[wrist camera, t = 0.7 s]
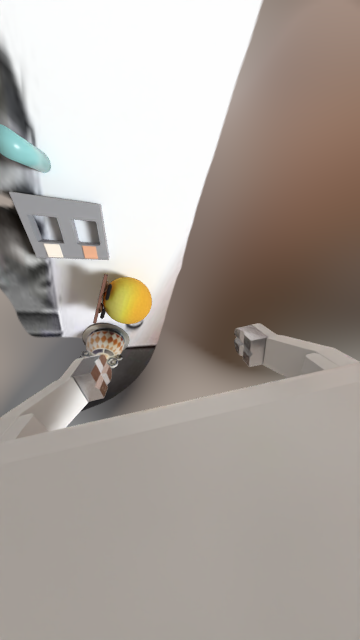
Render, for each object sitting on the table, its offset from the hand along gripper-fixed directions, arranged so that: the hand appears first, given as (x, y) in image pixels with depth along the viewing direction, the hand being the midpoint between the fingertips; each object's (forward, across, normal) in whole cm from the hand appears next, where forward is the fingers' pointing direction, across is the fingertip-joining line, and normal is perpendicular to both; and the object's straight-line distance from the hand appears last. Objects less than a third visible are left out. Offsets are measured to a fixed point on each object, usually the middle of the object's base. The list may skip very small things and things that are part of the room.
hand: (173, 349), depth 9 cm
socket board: (+42, +22, -14) cm, 49 cm away
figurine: (+51, +28, +24) cm, 63 cm away
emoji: (+48, +14, +5) cm, 50 cm away
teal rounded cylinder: (+39, +21, -27) cm, 51 cm away
